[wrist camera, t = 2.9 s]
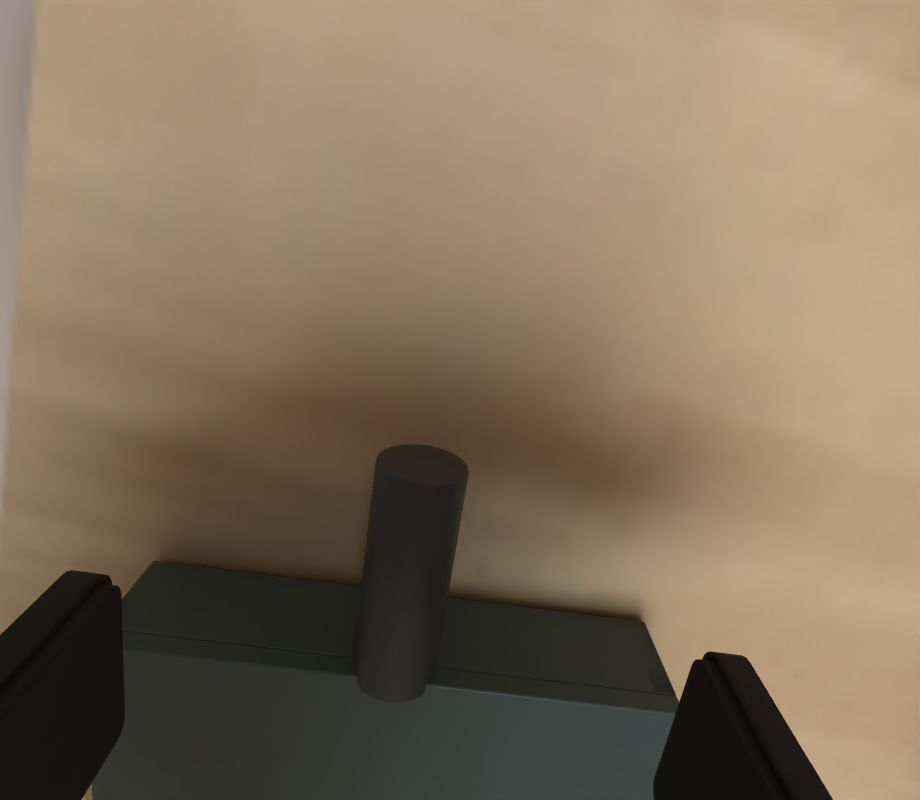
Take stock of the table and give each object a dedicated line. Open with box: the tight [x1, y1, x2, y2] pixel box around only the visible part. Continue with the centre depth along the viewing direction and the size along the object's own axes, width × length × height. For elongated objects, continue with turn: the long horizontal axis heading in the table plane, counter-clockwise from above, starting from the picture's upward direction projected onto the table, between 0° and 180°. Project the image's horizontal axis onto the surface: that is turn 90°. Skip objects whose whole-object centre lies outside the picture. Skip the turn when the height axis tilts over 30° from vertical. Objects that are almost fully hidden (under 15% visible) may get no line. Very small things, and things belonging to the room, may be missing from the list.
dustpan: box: [92, 444, 679, 800], centre depth 17 cm, size 17×14×4 cm
